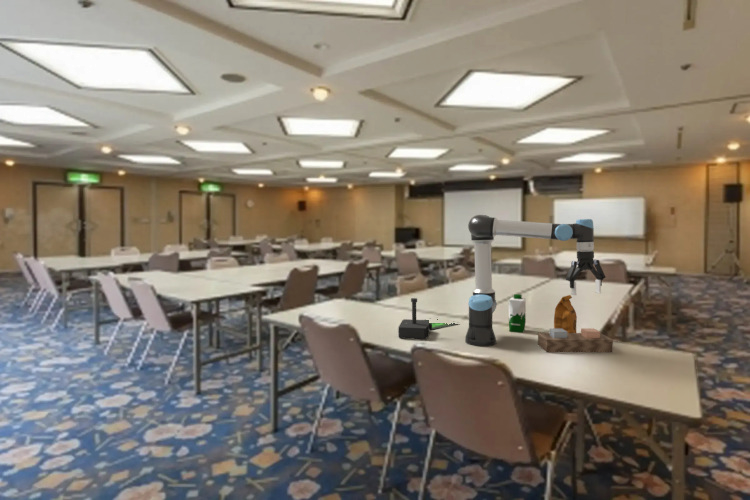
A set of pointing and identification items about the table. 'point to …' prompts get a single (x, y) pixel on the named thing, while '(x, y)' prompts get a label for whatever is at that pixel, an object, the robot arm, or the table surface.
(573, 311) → the coffee package
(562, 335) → the slate key
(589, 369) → the table surface
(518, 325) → the milk carton
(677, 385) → the table surface
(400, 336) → the black joystick
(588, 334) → the terracotta key
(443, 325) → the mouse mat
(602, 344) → the brown woven basket
